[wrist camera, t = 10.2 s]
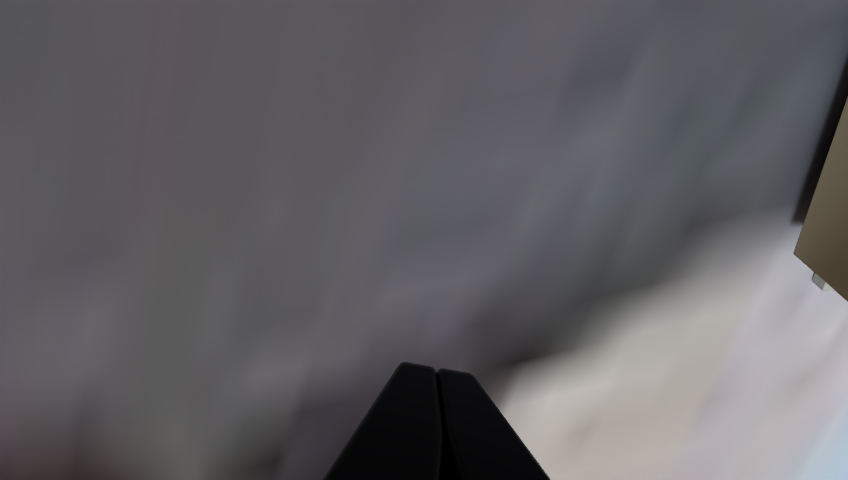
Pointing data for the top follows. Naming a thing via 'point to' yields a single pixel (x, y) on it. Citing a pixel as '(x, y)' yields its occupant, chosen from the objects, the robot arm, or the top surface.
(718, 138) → the top surface
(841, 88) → the top surface
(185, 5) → the top surface
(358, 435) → the robot arm
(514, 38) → the top surface
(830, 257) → the oak block
